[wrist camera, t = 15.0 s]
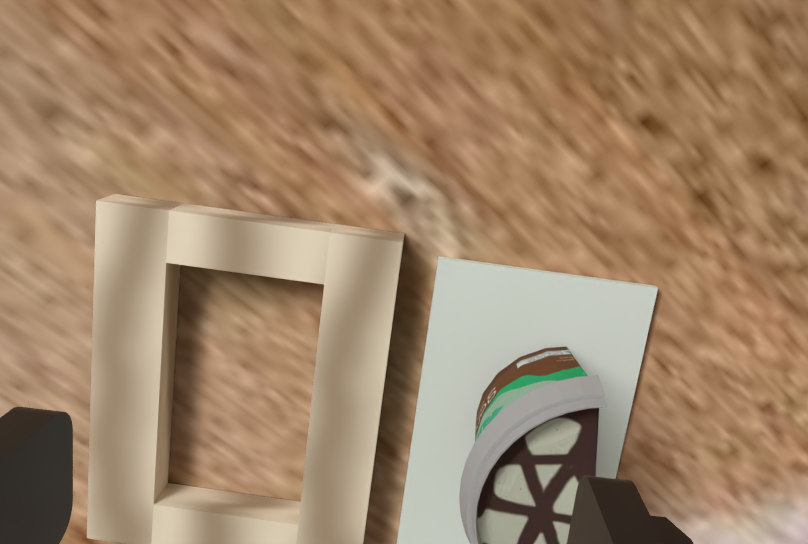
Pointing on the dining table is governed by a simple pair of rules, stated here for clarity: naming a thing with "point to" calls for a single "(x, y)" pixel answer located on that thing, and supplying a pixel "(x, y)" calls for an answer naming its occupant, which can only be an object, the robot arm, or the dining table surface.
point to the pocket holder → (155, 363)
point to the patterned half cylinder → (531, 450)
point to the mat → (497, 348)
